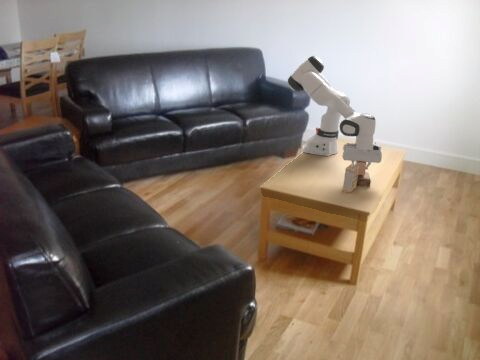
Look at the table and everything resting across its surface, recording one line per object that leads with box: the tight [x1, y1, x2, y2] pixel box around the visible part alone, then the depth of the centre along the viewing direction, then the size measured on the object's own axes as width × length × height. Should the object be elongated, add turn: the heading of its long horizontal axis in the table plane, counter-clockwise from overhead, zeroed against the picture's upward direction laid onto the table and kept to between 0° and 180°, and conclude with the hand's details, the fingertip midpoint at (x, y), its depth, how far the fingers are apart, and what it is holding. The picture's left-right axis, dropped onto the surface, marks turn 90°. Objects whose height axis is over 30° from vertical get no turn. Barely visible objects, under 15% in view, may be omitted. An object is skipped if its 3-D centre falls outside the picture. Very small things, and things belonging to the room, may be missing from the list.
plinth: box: [356, 171, 372, 187], centre depth 265 cm, size 11×11×4 cm
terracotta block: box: [354, 161, 368, 175], centre depth 262 cm, size 5×5×7 cm
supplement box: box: [342, 163, 359, 194], centre depth 253 cm, size 8×5×13 cm, turn 148°
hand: (360, 168), depth 263 cm, fingers closed on terracotta block, 5 cm apart
